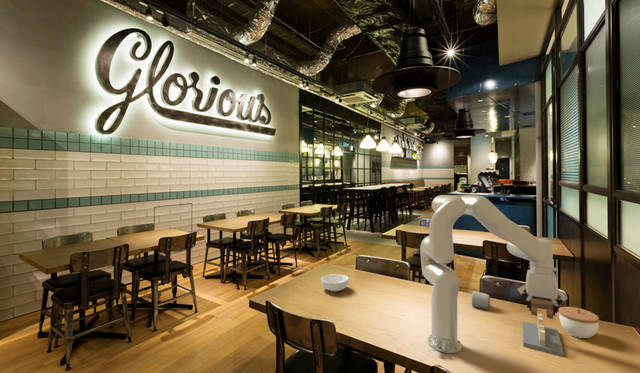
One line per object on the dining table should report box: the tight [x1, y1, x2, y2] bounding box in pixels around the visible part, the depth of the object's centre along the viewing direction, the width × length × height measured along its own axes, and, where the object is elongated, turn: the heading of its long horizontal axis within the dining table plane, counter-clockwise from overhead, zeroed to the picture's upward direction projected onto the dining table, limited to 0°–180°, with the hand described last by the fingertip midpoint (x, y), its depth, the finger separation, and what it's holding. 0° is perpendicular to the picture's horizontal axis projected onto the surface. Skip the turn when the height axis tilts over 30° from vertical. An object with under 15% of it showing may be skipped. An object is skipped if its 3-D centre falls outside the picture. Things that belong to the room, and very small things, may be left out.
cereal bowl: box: [320, 273, 349, 293], centre depth 173 cm, size 17×17×7 cm
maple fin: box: [536, 312, 545, 347], centre depth 116 cm, size 18×2×6 cm, turn 145°
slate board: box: [522, 321, 564, 357], centre depth 117 cm, size 20×12×2 cm, turn 145°
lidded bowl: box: [558, 306, 600, 339], centre depth 120 cm, size 13×13×11 cm
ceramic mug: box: [471, 290, 491, 310], centre depth 148 cm, size 11×8×8 cm
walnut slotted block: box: [530, 296, 554, 320], centre depth 116 cm, size 4×7×7 cm, turn 55°
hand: (541, 311), depth 116 cm, fingers closed on walnut slotted block, 7 cm apart
